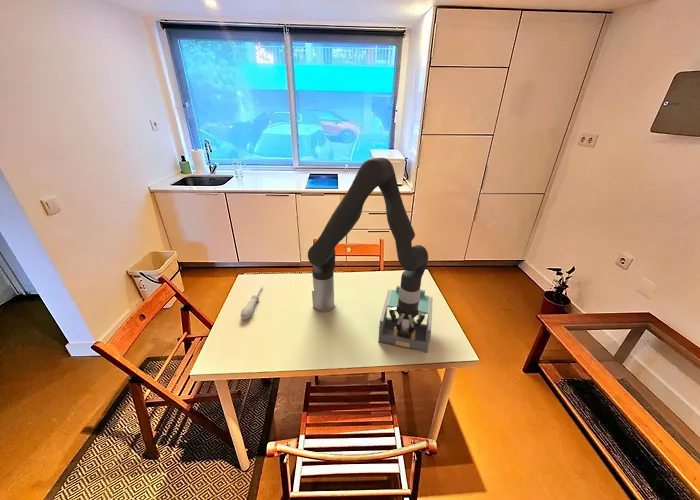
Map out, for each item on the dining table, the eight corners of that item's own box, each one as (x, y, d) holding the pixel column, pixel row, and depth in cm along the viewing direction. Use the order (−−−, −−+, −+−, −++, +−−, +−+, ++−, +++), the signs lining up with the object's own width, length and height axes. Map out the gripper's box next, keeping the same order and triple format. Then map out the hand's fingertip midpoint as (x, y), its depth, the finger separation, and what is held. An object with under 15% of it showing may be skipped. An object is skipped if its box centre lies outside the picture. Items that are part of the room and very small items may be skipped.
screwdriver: (266, 290, 148) (267, 283, 146) (248, 322, 125) (249, 315, 123) (257, 288, 148) (258, 281, 146) (237, 320, 125) (238, 312, 123)
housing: (378, 342, 115) (379, 320, 109) (386, 310, 132) (388, 289, 127) (427, 353, 111) (431, 330, 105) (429, 318, 128) (432, 297, 122)
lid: (387, 306, 117) (388, 300, 116) (391, 291, 126) (392, 285, 125) (427, 314, 113) (429, 307, 112) (428, 297, 123) (430, 291, 121)
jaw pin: (399, 330, 117) (401, 312, 113) (409, 331, 116) (412, 314, 112) (398, 337, 114) (400, 319, 109) (408, 339, 113) (411, 321, 108)
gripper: (429, 293, 108) (423, 328, 116) (391, 287, 111) (388, 321, 119) (428, 306, 101) (422, 341, 109) (388, 299, 104) (385, 334, 113)
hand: (404, 331), depth 114 cm, fingers closed on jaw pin, 4 cm apart
